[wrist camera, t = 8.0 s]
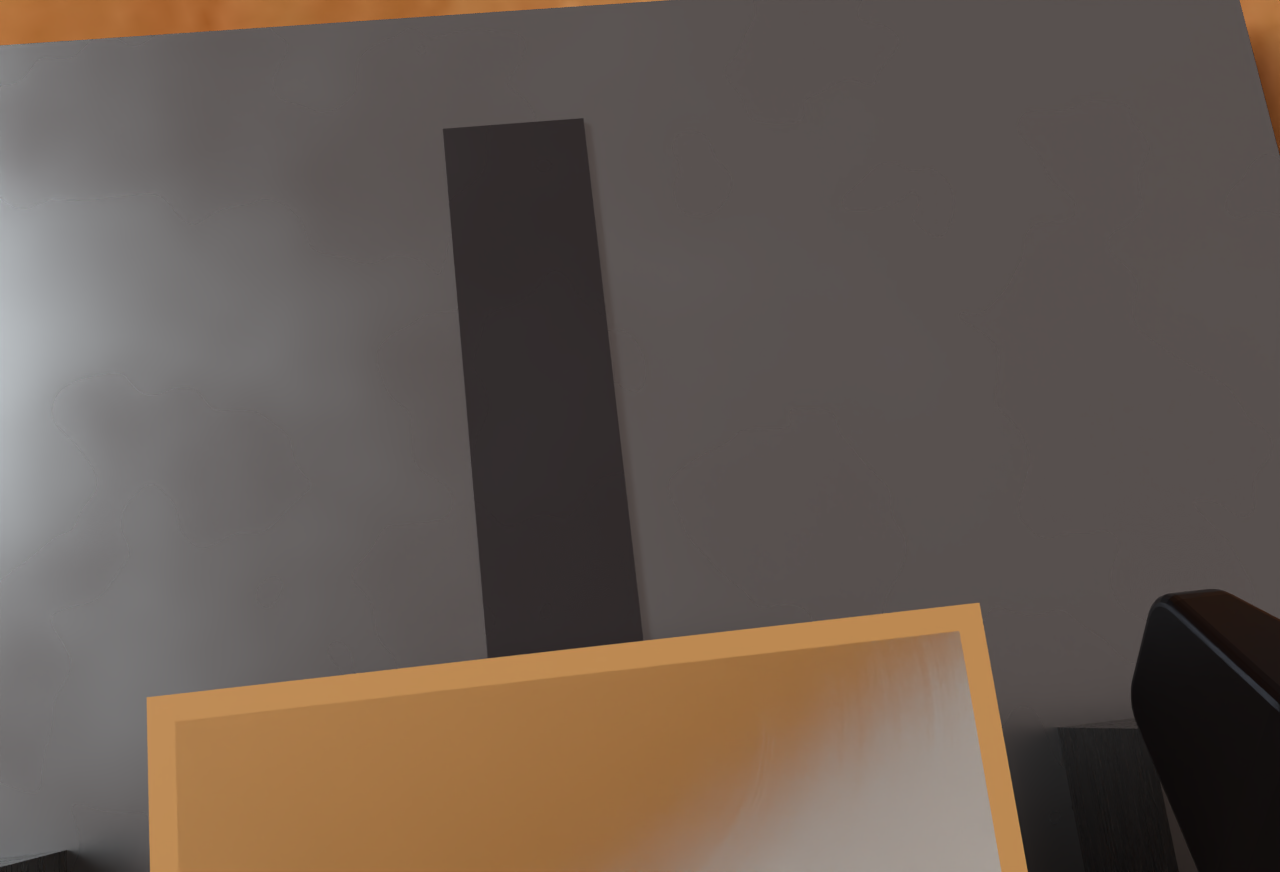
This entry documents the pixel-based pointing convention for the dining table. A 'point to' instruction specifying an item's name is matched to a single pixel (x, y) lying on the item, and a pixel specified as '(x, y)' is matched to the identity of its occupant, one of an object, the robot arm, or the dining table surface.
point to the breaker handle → (607, 759)
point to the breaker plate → (629, 362)
